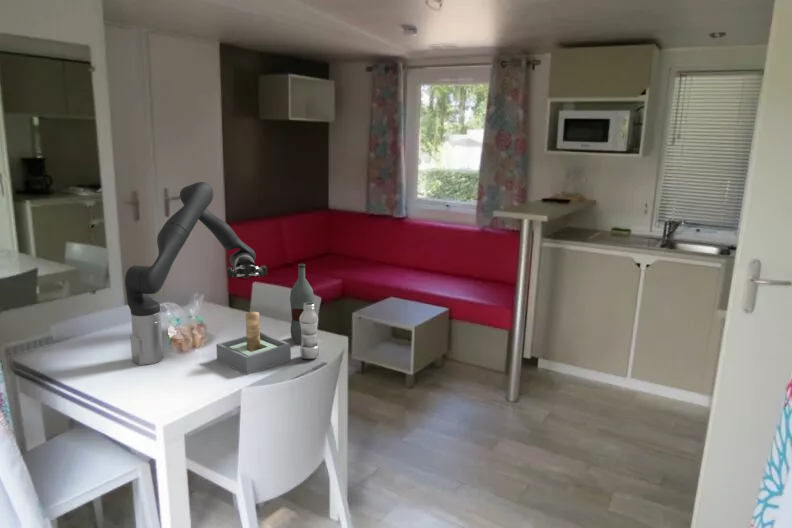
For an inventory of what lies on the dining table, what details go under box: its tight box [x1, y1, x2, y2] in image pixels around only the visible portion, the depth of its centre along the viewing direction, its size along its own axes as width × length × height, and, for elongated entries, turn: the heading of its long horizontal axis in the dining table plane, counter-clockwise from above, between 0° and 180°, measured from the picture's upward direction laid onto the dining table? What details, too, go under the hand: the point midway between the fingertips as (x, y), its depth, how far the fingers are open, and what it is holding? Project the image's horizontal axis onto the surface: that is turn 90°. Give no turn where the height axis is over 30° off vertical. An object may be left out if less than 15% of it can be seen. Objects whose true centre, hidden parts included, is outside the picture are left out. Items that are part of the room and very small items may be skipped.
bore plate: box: [229, 340, 278, 356], centre depth 198 cm, size 12×12×4 cm
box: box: [215, 331, 292, 376], centre depth 198 cm, size 18×18×6 cm
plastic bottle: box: [299, 302, 320, 360], centre depth 199 cm, size 6×7×20 cm
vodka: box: [289, 263, 315, 345], centre depth 216 cm, size 9×9×30 cm
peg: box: [245, 311, 261, 352], centre depth 196 cm, size 4×4×16 cm
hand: (248, 275), depth 203 cm, fingers open, 8 cm apart
